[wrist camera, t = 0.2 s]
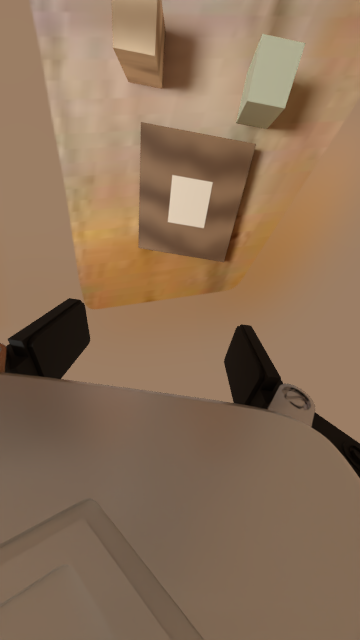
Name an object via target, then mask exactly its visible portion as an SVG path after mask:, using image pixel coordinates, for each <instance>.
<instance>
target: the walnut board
mask: <svg viewBox="0 0 360 640" xmlns="http://www.w3.org/2000/svg"><path fill="white" fill-rule="evenodd" d="M255 146H256V144H253V143H247V142H242V141H237V140H232V139H226V138H221V137H216V136H211V135H205V134H200V133H195V132H190V131H184V130H179V129H174V128H169V127H163V126H158V125H153V124H148V123H142V122H141V153H140V203H139V248H143V249H149V250H155V251H161V252H167V253H173V254H179V255H185V256H191V257H197V258H203V259H209V260H215V261H221V262H224V260H225V256H226V252H227V249H228V245H229V241H230V238H231V234H232V230H233V227H234V223H235V219H236V216H237V212H238V208H239V205H240V201H241V198H242V194H243V190H244V187H245V183H246V179H247V176H248V172H249V168H250V165H251V161H252V157H253V154H254V150H255Z"/></svg>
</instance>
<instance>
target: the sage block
mask: <svg viewBox="0 0 360 640" xmlns="http://www.w3.org/2000/svg"><path fill="white" fill-rule="evenodd" d="M304 46H305V43H302V42H298V41H293V40H288V39H284V38H279V37H274V36H270V35H265V34H262V37H261V39H260V42H259V44H258V47H257V49H256V52H255V54H254V57H253V59H252V62H251V64H250V67H249V70H248V72H247V76H246V81H245V85H244V90H243V94H242V99H241V103H240V108H239V113H238V117H237V122H236V123H238V124H244V125H249V126H254V127H259V128H264V129H267V128H268V127H269V126H270V125H271V124H272V123H273V122H274V120H275V119H276V118H277V117H278V116H279V115H280V113H281V112H282V111H283V110H284V109H285V107H286V103H287V100H288V97H289V94H290V91H291V87H292V84H293V81H294V78H295V75H296V71H297V68H298V65H299V62H300V59H301V55H302V52H303V49H304Z"/></svg>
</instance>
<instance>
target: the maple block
mask: <svg viewBox="0 0 360 640" xmlns="http://www.w3.org/2000/svg"><path fill="white" fill-rule="evenodd" d="M111 2H112V32H113V49H114V51H115V53H116V55H117V57H118V60H119V62H120V64H121V66H122V68H123V71H124V73H125V75H126V77H127V79H128V82H131V83H137V84H142V85H147V86H152V87H157V88H162V80H163V63H164V46H165V24H164V17H163V9H162V1H161V0H111Z"/></svg>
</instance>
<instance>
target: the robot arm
mask: <svg viewBox="0 0 360 640" xmlns="http://www.w3.org/2000/svg"><path fill="white" fill-rule="evenodd" d="M8 341H9V343H10V344H9V345H7V346H5V345H4V344H1V343H0V640H360V443H358V442H357V441H355V440H354V439H352V438H351V437H350V436H348V435H347V434H345V433H344V432H342V431H341V430H339V429H338V428H337V427H335V426H333V425H332V424H331V423H329V422H328V421H326V420H325V419H324V418H322V417H321V416H319V415H318V414H316V413H315V405H314V403H313V401H312V399H311V398H310V396H309V395H308V394H306V393H305V392H304V391H303V390H301V389H300V388H298V387H296V386H294V385H291V384H283V382H282V381H281V377H280V376H279V374H278V372H277V370H276V369H275V367H274V365H273V363H272V362H271V360H270V358H269V356H268V355H267V353H266V351H265V349H264V347H263V346H262V344H261V342H260V340H259V339H258V337H257V335H256V333H255V332H254V330H253V328H252V327H251V326H249V325H240V326H237V328H236V330H235V333H234V336H233V338H232V341H231V343H230V346H229V349H228V351H227V354H226V357H225V361H224V363H225V368H226V372H227V376H228V381H229V385H230V389H231V393H232V397H233V401H234V403H229V402H223V401H216V400H210V399H203V398H196V397H189V396H181V395H174V394H168V393H161V392H153V391H146V390H138V389H131V388H124V387H116V386H109V385H102V384H94V383H86V382H79V381H71V380H64V379H61V378H62V376H63V375H64V374H65V373H66V372H67V370H68V369H69V368H70V367H71V365H72V364H73V363H74V362H75V360H76V359H77V358H78V357H79V355H80V354H81V353H82V352H83V350H84V349H85V348H86V347H87V345H88V344H89V342H90V335H89V329H88V323H87V317H86V310H85V305H84V303H82V302H81V300H77V299H70V298H69V299H67V300H66V301H64V302H63V303H61V304H60V305H58V306H57V307H55V308H54V309H52V310H51V311H49V312H48V313H46V314H45V315H43V316H42V317H40V318H39V319H37V320H36V321H34V322H33V323H31V324H30V325H28V326H27V327H25V328H24V329H22V330H21V331H19V332H18V333H16V334H15V335H13V336H12V337H10V338H9V339H8Z"/></svg>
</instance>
